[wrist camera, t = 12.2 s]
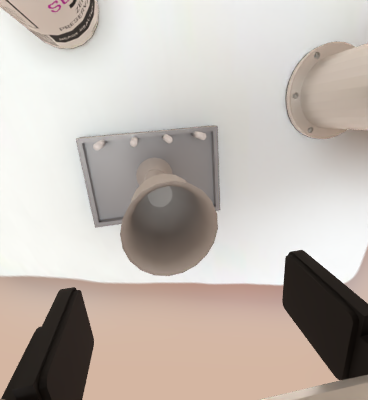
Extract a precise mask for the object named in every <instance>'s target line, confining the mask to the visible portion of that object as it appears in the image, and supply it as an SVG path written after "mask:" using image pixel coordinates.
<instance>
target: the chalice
mask: <svg viewBox="0 0 368 400" xmlns="http://www.w3.org/2000/svg"><path fill="white" fill-rule="evenodd" d="M136 177H137V182H138V184H139V187H138V188H137V189H136V191H135V193H134V195H133V197H132V200H131V204H130V205H129V207H128V209H127V211H126V213H125V215H124V217H123V219H122V225H121V232H120V236H121V241H122V247H123V250H124V251H125V253H126V255H127V257H128V258H129V260H130V261H131V262H132V263H133V264H134V265H135V266H137V267H138V268H139V269H140V270H142V271H145V272H147V273H150V274H153V275H160V276H171V275H175V274H179V273H183V272H185V271H187V270H188V269H190V268H192V267H194V266H196V265H197V264H198V263H199V262H200V261H201V260H202V259H203V258H204V257H205V256H206V255H207V254H208V252H209V250H210V248H211V247H212V245H213V243H214V241H215V237H216V233H217V229H218V225H217V213H216V210H215V208H214V205H213V203H212V201H211V200H210V198H209V197H208V196H207V195H206V194H205V193H204V192H203V190H201V189H199V188H197V187H195V186H194V185H192V184H190V183H187V182H186V181H185V180H184V179H182V178H180V177H178V176H177V175H173V174H172V169H171V167H170V165H169V164H168V163H167V162H166V161H164V160H162V159H161V158H149V159H147V160H145V161H143V162H142V163H141V164H140V165H139V167H138V169H137V174H136Z"/></svg>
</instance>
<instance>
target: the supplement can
mask: <svg viewBox="0 0 368 400" xmlns="http://www.w3.org/2000/svg"><path fill="white" fill-rule="evenodd" d="M0 7H1V8H2V9H4V10H5V11H6V12H7V13H9V14H10V15H11V16H12V17H14V18H15V19H16V20H17V21H19V22H20V23H21V24H22V25H24V26H25V27H26V28H27V29H29V30H30V31H31V32H32V33H34V34H35V35H36V36H37V37H39V38H40V39H41V40H42V41H44V42H45V43H48V44H50V45H52V46H55V47H57V48H68V49H72V48H75V47H77V46H80V45H83V44H84V43H85V42H86V41H87V40H88V39H90V38H91V37H92V35H93V33H94V31H95V29H96V26H97V24H98V13H99V8H98V3H97V0H0Z"/></svg>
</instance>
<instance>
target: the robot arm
mask: <svg viewBox="0 0 368 400" xmlns="http://www.w3.org/2000/svg"><path fill="white" fill-rule="evenodd" d="M292 96H293V97H292ZM286 102H287V110H288V114H289V117H290V119H291V122H292V124H293V125H294V126H295V128H296V129H297V130H298V131H299V132H301V133H302V134H304V135H306V136H308V137H311V138H316V139H327V138H332V137H335V136H338V135H339V134H341V133H343V132H345V131H346V130H347V129H352V130H368V43H367V44H364V45H361V46H358V47H354V46H353V45H351V44H348V43H345V42H331V43H327V44H324V45H322V46H319V47H317V48H316V49H314V50H312V51H311V52H309V53H308V54H307V55H306V56H305V57H304V58H303V59H302V60H301V61H300V62H299V64H298V65H297V67H296V68H295V70H294V72H293V74H292V76H291V78H290V81H289V85H288V89H287V97H286ZM283 306H284V308H285V310H286V311H287V313H288V314H289V315H290V317H291V318H292V319H293V321H294V322H295V323H296V325H297V326H298V327H299V329H300V330H301V331H302V333H303V334H304V335H305V337H306V338H307V339H308V341H309V342H310V344H311V345H312V346H313V348H314V349H315V350H316V352H317V353H318V354H319V355H320V357H321V358H322V360H323V361H324V362H325V364H326V365H327V366H328V368H329V369H330V370H331V372H332V373H333V374H334V376H335V377H336V378H337V379H339V380H341V381H336V382H332V383H328V384H323V385H320V386H315V387H311V388H307V389H302V390H298V391H294V392H290V393H285V394H281V395H277V396H273V397H269V398H264V399H260V400H368V304H367V303H366V302H365V301H364V300H363V299H361V298H360V297H359V296H358V295H357V294H355V293H354V292H353V291H352V290H351V289H349V288H348V287H347V286H346V285H344V284H343V283H342V282H341V281H340V280H338V279H337V278H336V277H335V276H334V275H332V274H331V273H330V272H329V271H328V270H326V269H325V268H324V267H323V266H322V265H320V264H319V263H318V262H317V261H315V260H314V259H313V258H312V257H311V256H309V255H308V254H307V253H306V252H305V251H303V250H299V251H293V252H289V254H288V256H286V259H285V273H284V287H283ZM93 346H94V338H93V334H92V330H91V327H90V323H89V319H88V316H87V312H86V308H85V304H84V301H83V297H82V293H81V291H80V290H76V288H67V289H61V290H60V291H59V292H58V294H57V296H56V298H55V300H54V302H53V305H52V307H51V309H50V311H49V313H48V315H47V317H46V319H45V321H44V323H43V325H42V327H39V328H37V329H36V331H35V333H34V334H33V336H32V338H31V340H30V343H29V344H28V346H27V348H26V350H25V352H24V354H23V357H22V359H21V360H20V362H19V364H18V366H17V368H16V370H15V372H14V374H13V376H12V378H11V380H10V382H9V384H8V386H7V388H6V390H5V392H4V394H3V396H2V398H1V400H82V398H83V392H84V388H85V384H86V379H87V374H88V369H89V365H90V360H91V355H92V351H93Z"/></svg>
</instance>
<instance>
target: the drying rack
mask: <svg viewBox="0 0 368 400" xmlns="http://www.w3.org/2000/svg"><path fill="white" fill-rule="evenodd" d="M76 142H77V147H78V151H79V156H80V161H81V165H82V170H83V174H84V179H85V183H86V188H87V192H88V197H89V201H90V206H91V211H92V215H93V220H94V224H95V227H102V226H110V225H117V224H122V219H123V217H124V215H125V213H126V211H127V209H128V207H129V205H130V204H131V200H132V197H133V195H134V193H135V191H136V189H137V188H138V187H139V184H138V182H137V177H136V174H137V169H138V167H139V165H140V164H141V163H142V162H143V161H145V160H147V159H149V158H161V159H162V160H164V161H166V162H167V163H168V164H169V165H170V167H171V169H172V174H173V175H177V176H178V177H180V178H182V179H184V180H185V181H186V182H187V183H190V184H192V185H194V186H195V187H197V188H199V189H201V190H203V192H204V193H205V194H206V195H207V196H208V197H209V198H210V200H211V201H212V203H213V205H214V208H215V210H216V211H217V210H220V191H219V159H218V127H217V126H204V127H193V128H182V129H171V130H159V131H148V132H137V133H126V134H115V135H104V136H93V137H82V138H77V139H76Z"/></svg>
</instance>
